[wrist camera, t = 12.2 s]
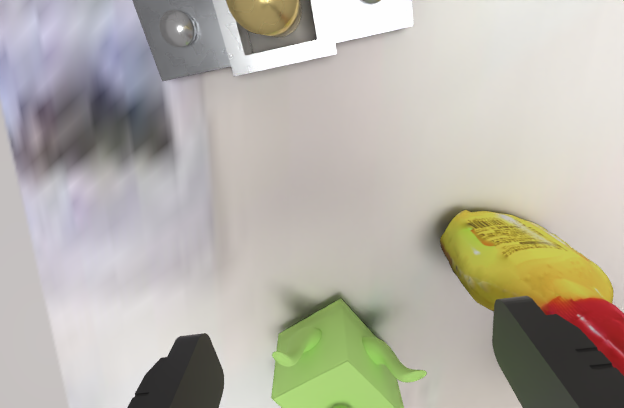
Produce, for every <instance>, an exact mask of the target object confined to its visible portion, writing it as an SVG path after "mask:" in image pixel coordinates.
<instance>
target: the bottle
mask: <svg viewBox="0 0 624 408" xmlns="http://www.w3.org/2000/svg"><path fill="white" fill-rule="evenodd" d="M440 244H441V248H442V250H443V252H444V254H445V256H446V258H447V259H448V261H449V264H450V266H451V268H452V270H453V272H454V273H455V274H456V275H457V276H458V278H459V280H460V282H461V283H462V284H463V286H464V287H465V288H466V290H467V291H468V292H469V294H470V295H471V296H472V297H473V299H474V300H475V301H476V302H477V303H479V304H481V305H483V306H484V307H486V308H488V309H490V310H492V311H494V304H495V301H496V300H497V299H503V298H511V297H520V296H529V297H530V298H532V299H533V300H534V301H535V303H536V304H537V305H538V306H539V307H540V309H541V310H542V311H543V312H544V313H545V314H546V315H551V314H557V315H559V316H561V317H562V318H564V319H565V320H567V321H569V322H570V323H572V324H573V325H575V326H577V327H578V328H580V329H581V330H582V332H583V333H584V334H585V335H586V336H587V337H588V338H589V339H590V340H591V341H592V342H593V343H594V344H595V345H596V347H597V349H598V351H601V352H602V353H603V354H604V355H605V356H606V357H607V358H608V359H609V361H610V362H611V363H612V366H613V367H614V368H615V367H616V368H617V369H618V370H619V371H620V372H621V373H622V374H623V376H624V313H623V312H622V311H620V310H619V309H618V308H617V307H616V306H615V305H613V304H612V301H613V287H612V285H611V282H610V280H609V278H608V277H607V275H606V274H605V273H604V272H603V271H602V270H601V268H600V267H598V266H597V265H596V264H594V263H593V262H592V261H590V260H589V259H587V258H586V257H585V256H583V255H582V254H581V253H579V252H577V251H575V250H574V249H573V248H571V247H570V246H569V245H568V244H567V243H566V242H564V241H563V240H561V239H560V238H558V237H557V236H556V235H554V234H552V233H549V232H548V231H547V230H546V229H544V228H543V227H541V226H539V225H537V224H535V223H533V222H530V221H526V220H522V219H520V218H518V217H515V216H513V215H509V214H500V213H494V212H489V211H477V212H469V211H467V210H464V211H461V212H460V213H459V214H457V215H456V216H455V217H454V218H453V219H452V220H451V222H450V223H449V225H448V227H447V228H446V230H445V232H444V233H443V235H442V236H441V238H440Z"/></svg>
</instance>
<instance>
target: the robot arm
mask: <svg viewBox="0 0 624 408" xmlns="http://www.w3.org/2000/svg"><path fill="white" fill-rule="evenodd" d="M492 342H493V349H494V353H495V356H496V359H497V362H498V364H499V366H500V368H501V370H502V371H503V373H504V375H505V377H506V378H507V380H508V382H509V384H510V386H511V387H512V389H513V391H514V393H515V394H516V396H517V398H518V400H519V401H520V403H521V405H522V407H523V408H624V376H623V374H622V373H621V372H620V371H619V370H618V369H617V368H616V367H615V368H614V367H613V366H612V363H611V362H610V361H609V359H608V358H607V357H606V356H605V355H604V354H603V353H602V352H601V351H598V349H597V347H596V345H595V344H594V343H593V342H592V341H591V340H590V339H589V338H588V337H587V336H586V335H585V334H584V333H583V332H582V330H581V329H580V328H578V327H577V326H575V325H573V324H572V323H570V322H569V321H567V320H565V319H564V318H562V317H561V316H559V315H557V314H551V315H546V314H545V313H544V312H543V311H542V310H541V309H540V307H539V306H538V305H537V304H536V303H535V301H534V300H533V299H532V298H530V297H529V296H520V297H511V298H503V299H497V300H496V301H495V304H494V320H493V339H492ZM223 389H224V374H223V369H222V367H221V364H220V362H219V359H218V357H217V355H216V352H215V350H214V347H213V345H212V342H211V340H210V338H209V336H208V335H207V334H206V333H204V334H195V335H187V336H180V337H178V338H177V339H176V341H175V343H174V345H173V347H172V349H171V351H170V353H169V355H168V357H165V358H160V359H159V361H158V362H157V363H156V364H155V365H154V366H153V367H152V368H151V369H150V370H149V371H148V372H147V374H146V375H145V376H144V378H143V380H142V382H141V384H140V386H139V387H138V389H137V391H136V393H135V397H134V398H132V400H131V402H130V404H129V406H128V408H219V404H220V401H221V397H222V394H223Z"/></svg>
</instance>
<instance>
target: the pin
mask: <svg viewBox="0 0 624 408" xmlns="http://www.w3.org/2000/svg"><path fill="white" fill-rule="evenodd" d="M226 2H227V5H228V8H229V10H230V13H231V14H232V16H233V17H234V19H235V20H236V21H237V22H238V23H239V24H240V25H241V26H242V27H243V28H245V29H246V30H248V31H250V32H252V33H256V34H261V35H268V36H274V37H284V36H287V35H289V34H290V33H292V32H293V31H294V30H295V29H296V28H297V26H298V24H299V22H300V19H301V14H302V7H301V2H300V0H226Z"/></svg>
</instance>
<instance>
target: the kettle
mask: <svg viewBox="0 0 624 408" xmlns="http://www.w3.org/2000/svg"><path fill="white" fill-rule="evenodd" d="M272 356H273V358H274V359H275V360H276V361H275V370H274V379H273V388H272V397H271V398H272V399H273V400H274V401H275V402H276V403H277V404H278V405H280V406H281V408H404V406H403V402H402V398H401V394H400V390H399V386H398V382H397V379H398V380H400V381H402V382H414V381H417V380H419V379H421V378H423V377H424V376H426V374H427V372H426V371H423V370H412V369H409V368H406V367H405V366H404V365H402V363H401V362H400V361H399V360H398V358H397V357H396V355H395V354H394V352H393V351H392V350H391V348H390V347H389V346H388V345H387V344H386V343H385V342H384V341H382V340H380V339H378V338H377V337H376V336H375V335H374V334H373V333H372V332H371V331H370V330H369V328H368V327H367V326H366V325H365V324H364V323H363V322H362V321H361V320H360V319H359V318H358V316H357V315H356V314H355V313H354V312H353V311H352V310H351V309H350V308H349V307H348V306H347V304H346V303H345V302H344V301H343V300H342V299H341V298H340V299H339V300H337V301H335V302H333V303H332V304H330V305H328V306H326V307H325V308H323V309H321V310H319V311H318V312H316V313H314V314H312V315H311V316H309V317H307V318H305V319H304V320H302V321H300V322H298V323H297V324H295V325H293V326H291V327H290V328H288V329H286V330H284V331H283V332H281V333H279V335H278V344H277V351H276V352H274V353H273V354H272Z"/></svg>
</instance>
